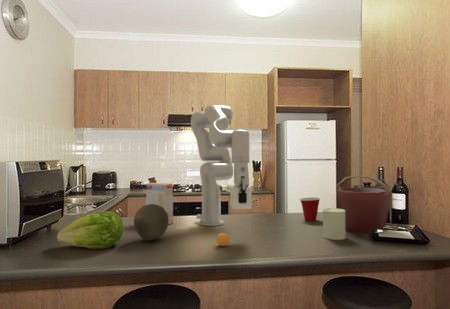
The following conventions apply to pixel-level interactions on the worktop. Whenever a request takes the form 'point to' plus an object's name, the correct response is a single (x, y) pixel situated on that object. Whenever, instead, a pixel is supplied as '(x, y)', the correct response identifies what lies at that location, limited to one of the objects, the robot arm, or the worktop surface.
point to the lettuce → (93, 231)
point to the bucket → (364, 206)
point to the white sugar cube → (235, 198)
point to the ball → (222, 239)
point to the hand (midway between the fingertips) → (240, 201)
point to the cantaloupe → (151, 222)
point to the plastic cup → (310, 208)
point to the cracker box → (161, 197)
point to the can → (334, 223)
